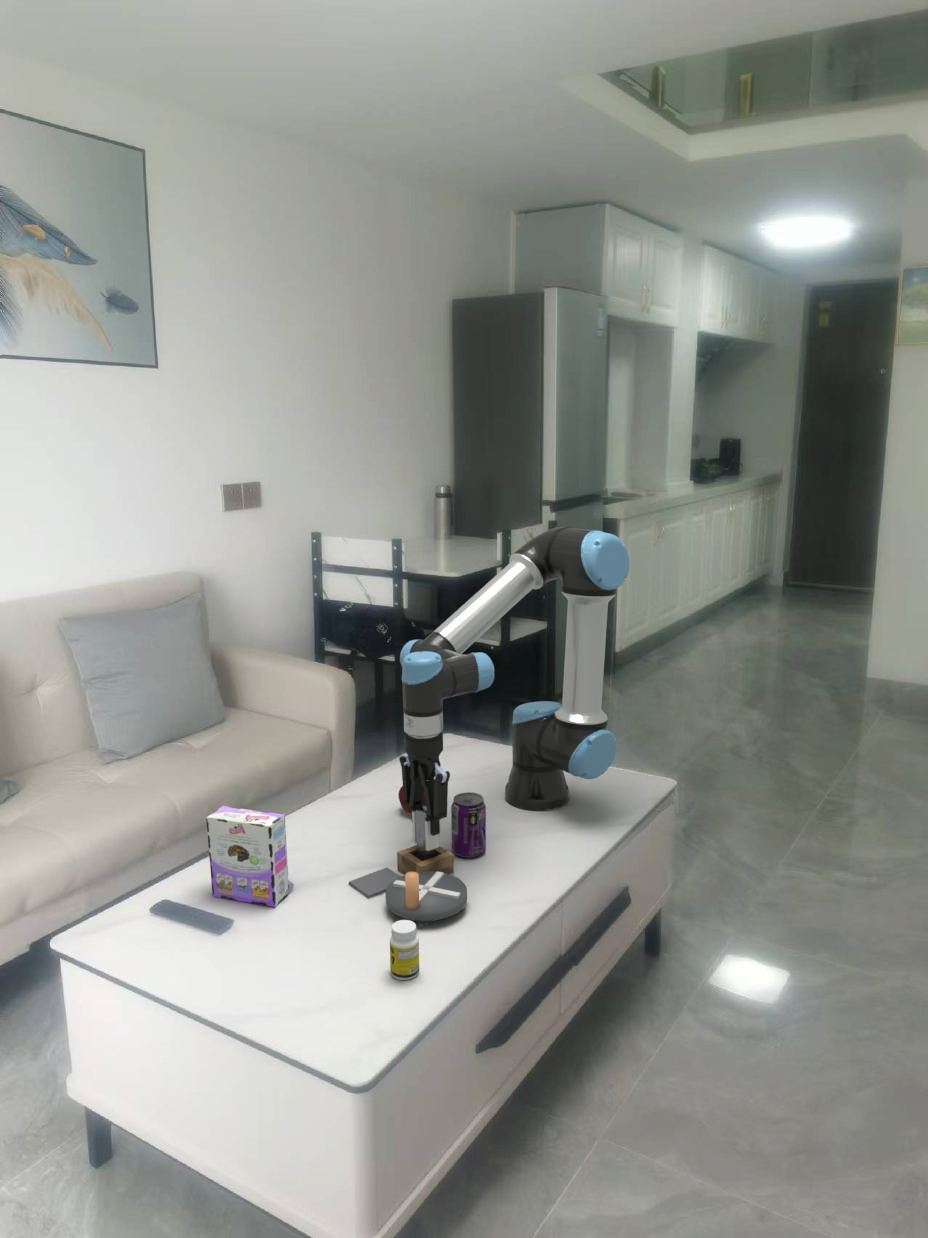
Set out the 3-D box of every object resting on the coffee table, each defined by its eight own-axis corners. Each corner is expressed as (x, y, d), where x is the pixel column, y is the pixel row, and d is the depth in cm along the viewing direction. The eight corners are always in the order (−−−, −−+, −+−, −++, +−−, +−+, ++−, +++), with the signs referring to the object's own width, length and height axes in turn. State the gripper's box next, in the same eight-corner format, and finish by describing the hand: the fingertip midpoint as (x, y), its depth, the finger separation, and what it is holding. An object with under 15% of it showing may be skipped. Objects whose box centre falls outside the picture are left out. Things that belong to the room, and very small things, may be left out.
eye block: (429, 858, 190) (429, 840, 189) (453, 873, 184) (453, 854, 183) (397, 870, 185) (397, 852, 184) (421, 885, 179) (421, 866, 178)
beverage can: (482, 861, 188) (482, 806, 186) (448, 858, 190) (447, 804, 187) (488, 846, 195) (488, 792, 192) (455, 843, 196) (455, 790, 194)
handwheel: (479, 887, 174) (479, 849, 173) (447, 927, 161) (447, 886, 159) (407, 873, 180) (406, 836, 178) (371, 910, 166) (370, 871, 165)
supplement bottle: (390, 964, 153) (389, 918, 151) (418, 963, 154) (418, 917, 152) (390, 982, 148) (389, 934, 147) (420, 980, 149) (419, 933, 147)
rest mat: (387, 870, 185) (386, 867, 185) (407, 883, 180) (407, 880, 179) (348, 884, 179) (348, 881, 179) (368, 898, 174) (368, 895, 174)
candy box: (290, 893, 176) (286, 813, 173) (274, 909, 171) (270, 826, 167) (228, 882, 181) (222, 803, 177) (210, 897, 175) (204, 816, 172)
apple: (419, 822, 206) (419, 788, 205) (391, 814, 210) (390, 781, 209) (438, 810, 213) (437, 777, 211) (410, 803, 217) (409, 771, 215)
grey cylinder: (428, 864, 187) (426, 804, 184) (439, 870, 184) (437, 810, 181) (413, 869, 184) (412, 809, 182) (424, 876, 182) (423, 815, 179)
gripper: (382, 725, 182) (386, 835, 187) (434, 748, 169) (436, 865, 174) (413, 717, 186) (416, 825, 192) (465, 739, 174) (467, 853, 179)
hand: (425, 844), depth 183 cm, fingers closed on grey cylinder, 4 cm apart
